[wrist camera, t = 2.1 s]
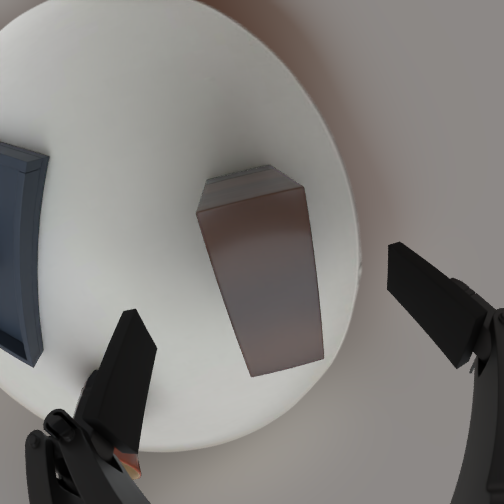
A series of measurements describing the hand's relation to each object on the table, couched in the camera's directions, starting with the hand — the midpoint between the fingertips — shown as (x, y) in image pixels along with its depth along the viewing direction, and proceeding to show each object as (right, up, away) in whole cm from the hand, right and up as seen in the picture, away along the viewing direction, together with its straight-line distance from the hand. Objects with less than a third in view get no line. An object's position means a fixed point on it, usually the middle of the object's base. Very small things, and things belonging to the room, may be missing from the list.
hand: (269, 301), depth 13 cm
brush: (-1, +3, +7) cm, 8 cm away
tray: (-27, +3, +4) cm, 28 cm away
